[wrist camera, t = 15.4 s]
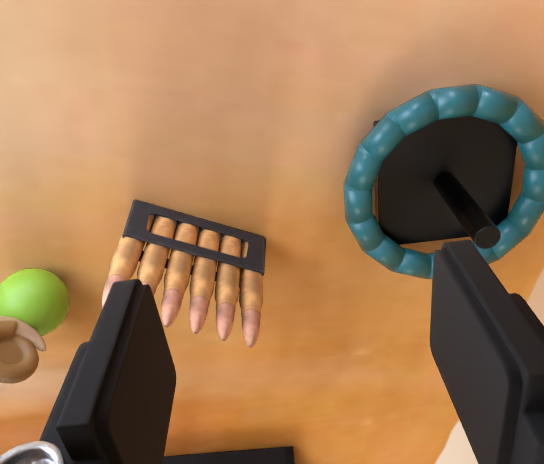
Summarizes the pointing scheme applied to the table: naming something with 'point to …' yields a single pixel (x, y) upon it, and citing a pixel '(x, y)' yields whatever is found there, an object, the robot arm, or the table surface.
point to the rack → (447, 183)
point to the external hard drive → (237, 457)
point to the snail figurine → (28, 319)
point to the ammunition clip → (193, 266)
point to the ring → (415, 115)
